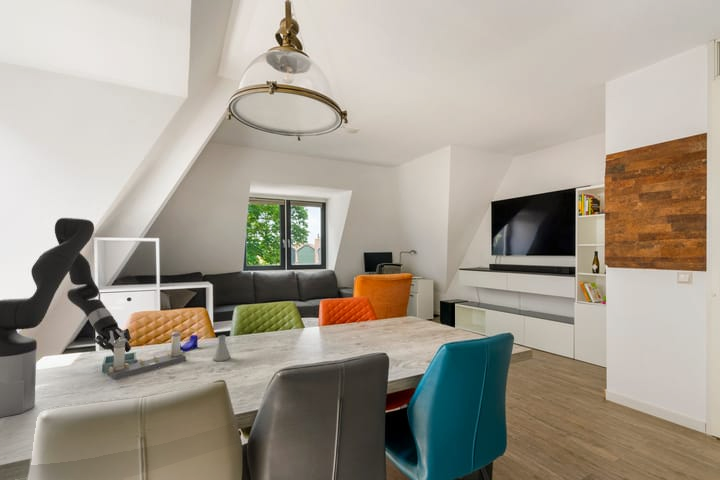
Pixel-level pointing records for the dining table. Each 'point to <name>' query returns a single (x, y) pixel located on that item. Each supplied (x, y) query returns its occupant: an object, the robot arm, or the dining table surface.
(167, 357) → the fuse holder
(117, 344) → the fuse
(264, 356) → the dining table surface
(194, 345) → the blue shoe
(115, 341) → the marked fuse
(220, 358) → the flask
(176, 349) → the fuse
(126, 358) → the tray
